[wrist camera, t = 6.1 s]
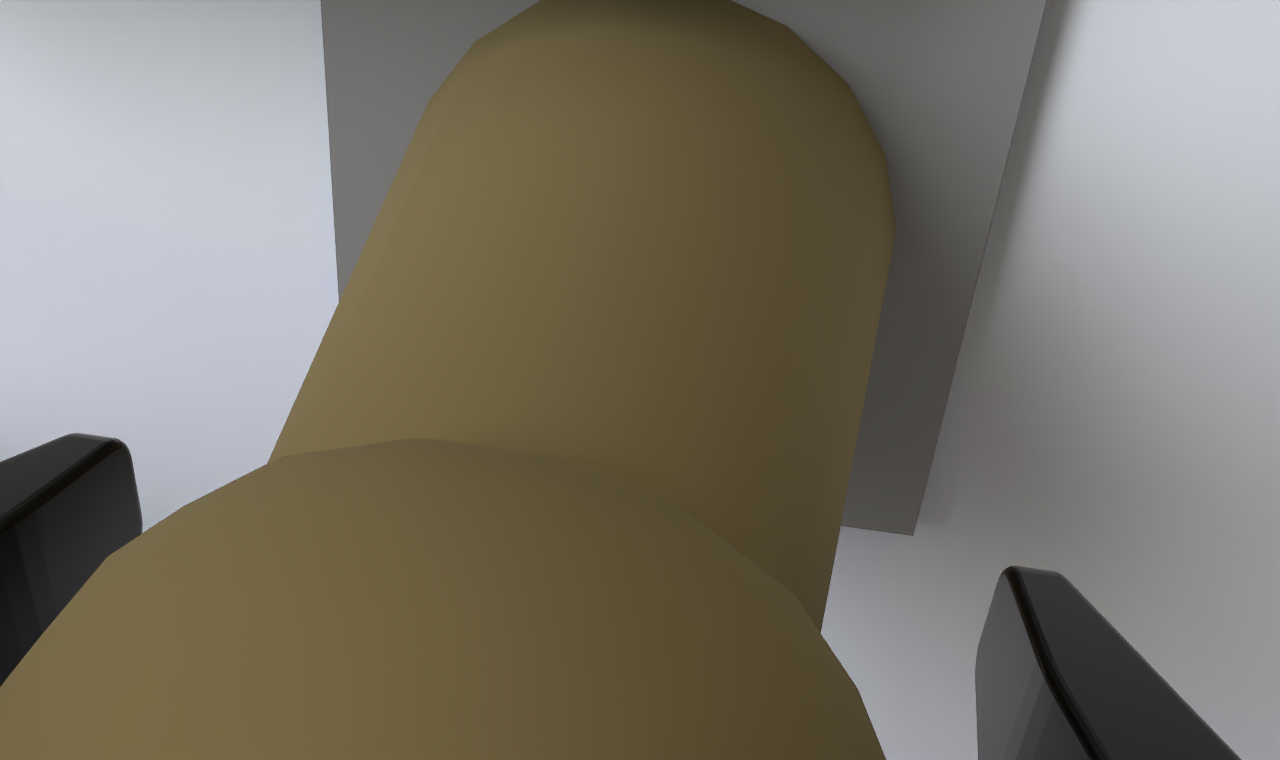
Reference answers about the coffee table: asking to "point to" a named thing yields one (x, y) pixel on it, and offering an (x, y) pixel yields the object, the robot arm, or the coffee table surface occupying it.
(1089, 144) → the coffee table surface
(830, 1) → the pad
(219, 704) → the cork
